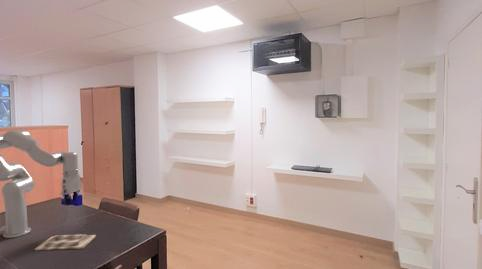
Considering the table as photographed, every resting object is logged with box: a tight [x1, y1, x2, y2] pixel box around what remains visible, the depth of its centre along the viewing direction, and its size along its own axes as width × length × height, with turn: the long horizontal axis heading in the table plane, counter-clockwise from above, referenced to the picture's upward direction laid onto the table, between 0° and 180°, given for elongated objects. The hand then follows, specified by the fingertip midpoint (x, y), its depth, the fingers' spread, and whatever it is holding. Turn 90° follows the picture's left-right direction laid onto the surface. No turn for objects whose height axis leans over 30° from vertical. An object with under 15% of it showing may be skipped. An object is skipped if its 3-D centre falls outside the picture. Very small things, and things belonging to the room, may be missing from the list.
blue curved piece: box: [61, 194, 83, 207], centre depth 157 cm, size 12×4×6 cm, turn 68°
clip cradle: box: [34, 233, 97, 251], centre depth 143 cm, size 24×14×2 cm, turn 95°
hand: (71, 202), depth 158 cm, fingers closed on blue curved piece, 5 cm apart
